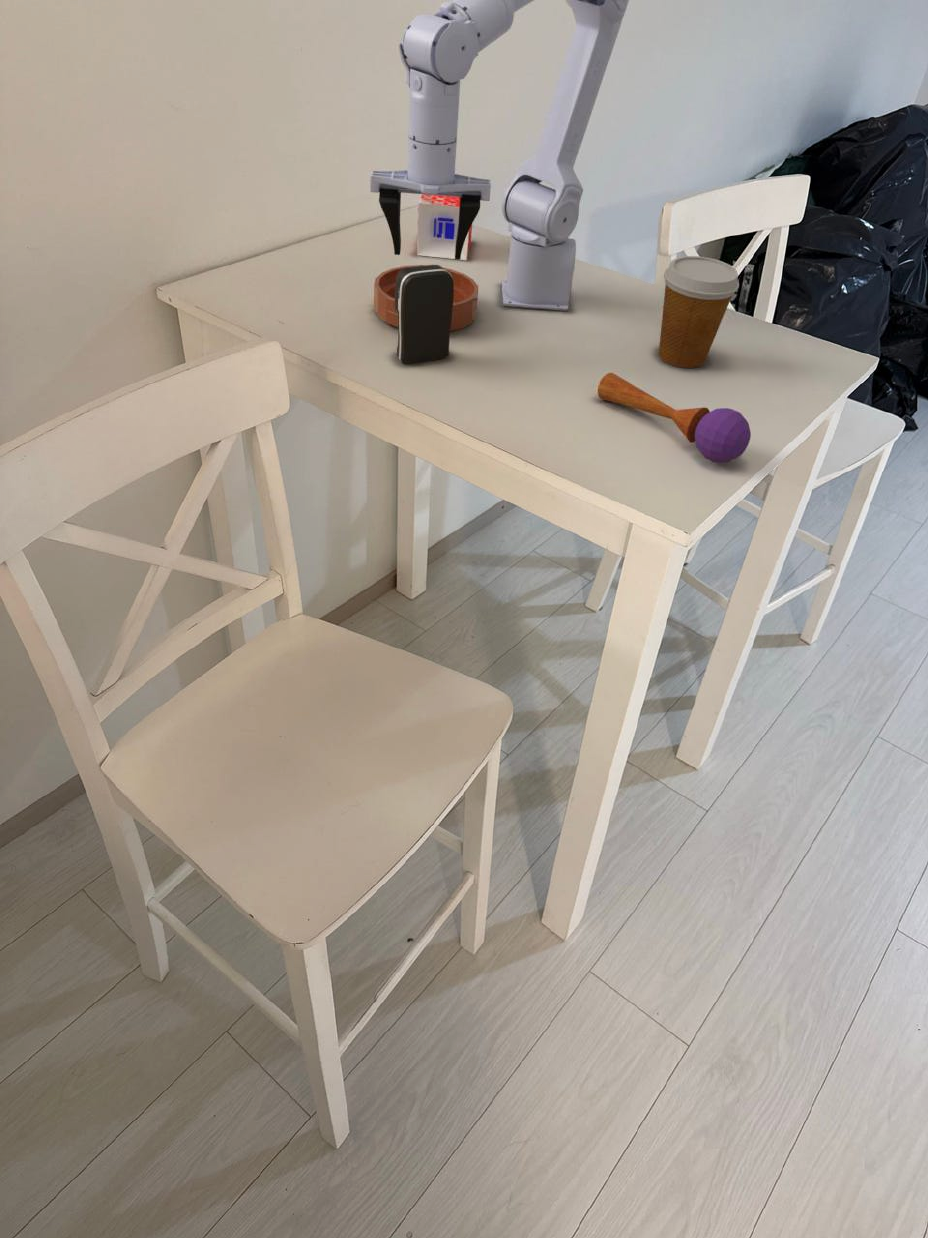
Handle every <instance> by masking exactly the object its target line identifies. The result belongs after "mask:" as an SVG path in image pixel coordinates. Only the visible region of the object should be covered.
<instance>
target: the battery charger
mask: <svg viewBox="0 0 928 1238" xmlns="http://www.w3.org/2000/svg"><path fill="white" fill-rule="evenodd" d="M423 265H424V266H415V267H408V268H404V269H402V270H401V271H400V272H399V273H398V275H397V277H396V283H395V310H396V311H397V312H398V327H397V331H398V335H397V336H398V337H397V339H398V341H397V346H396V356H397V358H398V360H399V362H400V363H402V364H413V363H420V362H421V363H423V362H428V361H433V360H440V359H444V358H448V357H449V356H450V337H451V331H450V329H451V320H452V311H453V297H454V281H453V278H452V276H451V274H450V273H449V272H448V271H447V270H445V269H444V268H445V267H443V266H441V265H438V264H423Z"/></svg>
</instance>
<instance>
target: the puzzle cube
mask: <svg viewBox="0 0 928 1238" xmlns="http://www.w3.org/2000/svg"><path fill="white" fill-rule="evenodd" d="M459 207H460V197H452V196H439V195H426V194H421V196H420V199H419V200H418V206H417V235H416V237H417V238H416V241H417V242H416V256H421V257H422V256H423V257H432V258H439V259H450V260H456V259H455V247H456V238H457V232H458V224H459ZM472 231H473V224H472V225H471V227H470V229H469V231H468V234H467V236H466V239H465V242H464V245H463V248H462V252H461V258H460V259H457V260H458V261H459V260H460V261H468V256H469V252H470V248H471V245H472V235H473V234H472V233H473V232H472Z"/></svg>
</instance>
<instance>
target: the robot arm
mask: <svg viewBox="0 0 928 1238" xmlns="http://www.w3.org/2000/svg"><path fill="white" fill-rule="evenodd" d="M534 1H535V0H451V1H448V0H447V1H445V2H443V3H441V4H440V6H439V9H438V10H437V11H436V12H435V14H430V13H422V14H419V15H417V16H415V17H414V18H413V19H412V20H411V21H410V22H409V23H408V25H407V26H406V28H405V29H404V33H403V36H402V41H401V42H399V43H398V50H399V51H398V52H399V56H400V60H401V62H402V64H403V65H404V67H405V71H406V84H407V85H408V88H409V97H408V98H409V99H408V100H409V102H408V103H409V104H408V133H407V134H408V135H407V136H408V141H407V170H406V169H405V170H371V171H370V176H369V182H370V185H369V186H370V187H369V189H370V190H369V192H370V193H377V194H378V193H379V194H378V203H379V206H380V209H381V211H382V213H383V215H384V218H385V220H386V223H387V225H388V228H389V232H390V235H391V239H392V244H393V252H394V253H393V254H394V255H395V256H400V255H401V250H402V249H401V248H402V232H401V205H402V204H401V202H402V193H403V194H414V195H422V194H426V195H439V196H452V197H460V207H459V224H458V232H457V238H456V247H455V259H454V260H458V259H460V258H461V252H462V248H463V245H464V242H465V239H466V236H467V234H468V231H469V229H470V227H471V225H472V226H473V223H474V222H475V219H476V218H477V217H478V214H479V212H480V210H481V201H482V202H490V198H491V186H492V181H491V179H487V178H479V177H473V176H467V175H463V174H457V173H456V160H457V144H458V128H459V126H458V125H459V110H460V109H459V108H460V93H461V80H464V79H465V78H466V77H467V75H468V74H469V72H470V70H471V68H472V65H473V62H474V60H475V59H476V58H477V57H479V53H480V52H482V51H483V50H484V49H486V48H487V47H488V46H490V45H491V44H493V43H494V42H495V41H497V40H498V39H499V38H500V37H502V36H503V35H505V34H506V33H507V32H509V31H510V30H511V28H512V26H513V23H514V18H515V13H516V12H518V11H519V10H521V9H523V8H524V7H526V6H527V5H529V4H531V3H532V2H534ZM565 2H566V4H567V6H568V7H570V8H571V10H572V14H573V16H574V20H575V26H574V30H573V33H572V37H571V39H570V43H569V46H568V49H567V53H566V56H565V59H564V63H563V65H562V68H561V72H560V75H559V78H558V81H557V83H556V87H555V90H554V94H553V96H552V100H551V103H550V107H549V110H548V113H547V116H546V120H545V122H544V126H543V129H542V133H541V136H540V138H539V142H538V144H537V148H536V151H535V154H534V155H533V156H531V157H530V158H528V159H526V160H525V161H523V162H522V163H520V164H519V165H518V166H517V167H516V171H515V174H514V177H513V179H512V181H511V182H510V184H509V185H508V186H507V188H506V190H505V192H504V195H503V197H502V202H501V212H502V216H503V218H504V220H505V221H506V222H507V224H508V227H507V230H508V231H509V232H510V233H511V236H510V244H509V254H508V265H507V273H506V274H507V275H506V281H502V283H501V294H502V305H503V306H504V307H510V308H511V307H512V308H514V307H515V308H524V309H525V308H527V309H540V310H553V311H568V310H569V308H570V306H569V304H570V297H571V292H572V287H573V278H574V271H575V265H576V256H577V255H576V254H577V241H576V239H575V238H569V237H570V236H571V235H572V233H573V232H574V231H575V229H576V228H577V227H576V226H577V224H578V221H579V215H580V203H581V199H582V195H583V193H584V188H583V185H582V183H581V182H580V180H579V178H578V176H577V174H576V172H575V169H574V166H575V165H576V160H577V157H578V154H579V151H580V148H581V145H582V142H583V140H584V136H585V133H586V131H587V127H588V125H589V122H590V119H591V116H592V112H593V110H594V106H595V104H596V100H597V98H598V94H599V91H600V88H601V85H602V83H603V80H604V77H605V73H606V70H607V67H608V64H609V62H610V58H611V55H612V52H613V50H614V47H615V44H616V42H617V41H616V40H617V38H618V34H619V32H620V28H621V25H622V22H623V19H624V16H625V13H626V10H627V8H628V5H629V2H630V0H565ZM542 182H544V183H546V184H548V185H550V186H551V187H549V186H547V185H544V184H542ZM552 187H553V188H552Z"/></svg>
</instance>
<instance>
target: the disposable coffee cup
mask: <svg viewBox="0 0 928 1238" xmlns="http://www.w3.org/2000/svg"><path fill="white" fill-rule="evenodd" d="M738 277H739V273H738V270H737V269H736V268H735V267H733V266H732V265H731V264H729V263H726V262H724V261H722V260H719V259H717V258H711V257H707V256H699V255H685V256H679V257H676V258H675V259H672V260H671V261H670V262H669V265H668V266H667V268H666V269H665V270H664V271H663V278H664V283H665V287H664V297H663V307H662V316H661V326H660V334H659V335H660V337H659V345H658V346H659V347H658V357H659V358H660V359H661V360H662V361H663V362H664V363H666V364H668V365H671V366H674V367H677V368H678V367H679V368H682V369H683V368H684V369H694V368H699V367H701V366H703V365H704V364H705V363H706V360H707V357H708V355H709V352H710V350H711V348H712V346H713V343H714V342H715V338H716V336H717V334H718V332H719V331H718V330H719V329H720V326H721V323H722V321H723V319H724V316H725V314H726V312H727V309H728V307H729V304H730V302H731V299H732V298H733V296H734V295H735V293H736V291H737V290H738V289H739V288H740V282H739V280H738V279H739V278H738Z"/></svg>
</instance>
